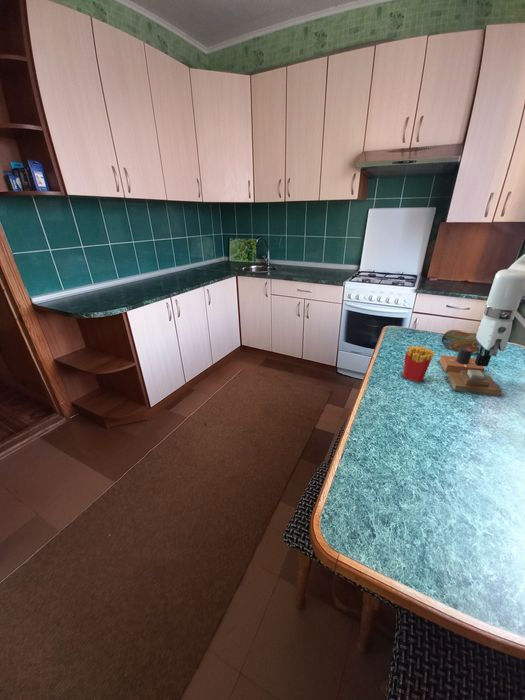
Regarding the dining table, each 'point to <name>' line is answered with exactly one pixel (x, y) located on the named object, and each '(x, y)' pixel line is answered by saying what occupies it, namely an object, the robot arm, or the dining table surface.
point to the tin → (460, 340)
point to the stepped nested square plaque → (473, 384)
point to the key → (475, 374)
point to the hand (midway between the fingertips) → (480, 364)
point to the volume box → (458, 364)
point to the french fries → (417, 362)
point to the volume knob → (464, 355)
